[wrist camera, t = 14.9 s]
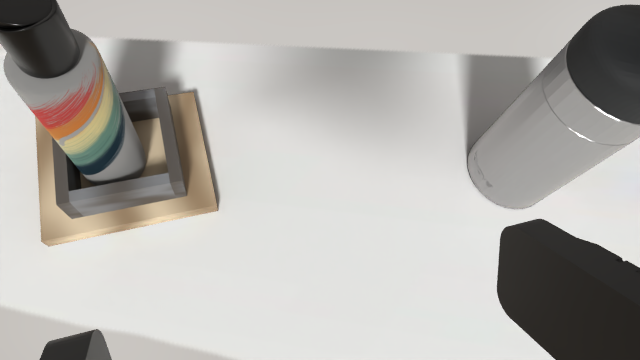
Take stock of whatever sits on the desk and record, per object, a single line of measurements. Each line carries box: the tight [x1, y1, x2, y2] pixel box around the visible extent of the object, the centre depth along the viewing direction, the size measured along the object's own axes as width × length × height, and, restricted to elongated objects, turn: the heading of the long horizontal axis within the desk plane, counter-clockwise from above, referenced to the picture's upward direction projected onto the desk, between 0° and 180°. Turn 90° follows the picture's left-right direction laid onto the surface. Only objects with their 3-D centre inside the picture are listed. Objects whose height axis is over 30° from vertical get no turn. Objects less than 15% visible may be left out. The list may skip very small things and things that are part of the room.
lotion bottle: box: [0, 0, 146, 186], centre depth 33 cm, size 6×6×20 cm
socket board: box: [35, 87, 218, 246], centre depth 42 cm, size 15×13×5 cm
